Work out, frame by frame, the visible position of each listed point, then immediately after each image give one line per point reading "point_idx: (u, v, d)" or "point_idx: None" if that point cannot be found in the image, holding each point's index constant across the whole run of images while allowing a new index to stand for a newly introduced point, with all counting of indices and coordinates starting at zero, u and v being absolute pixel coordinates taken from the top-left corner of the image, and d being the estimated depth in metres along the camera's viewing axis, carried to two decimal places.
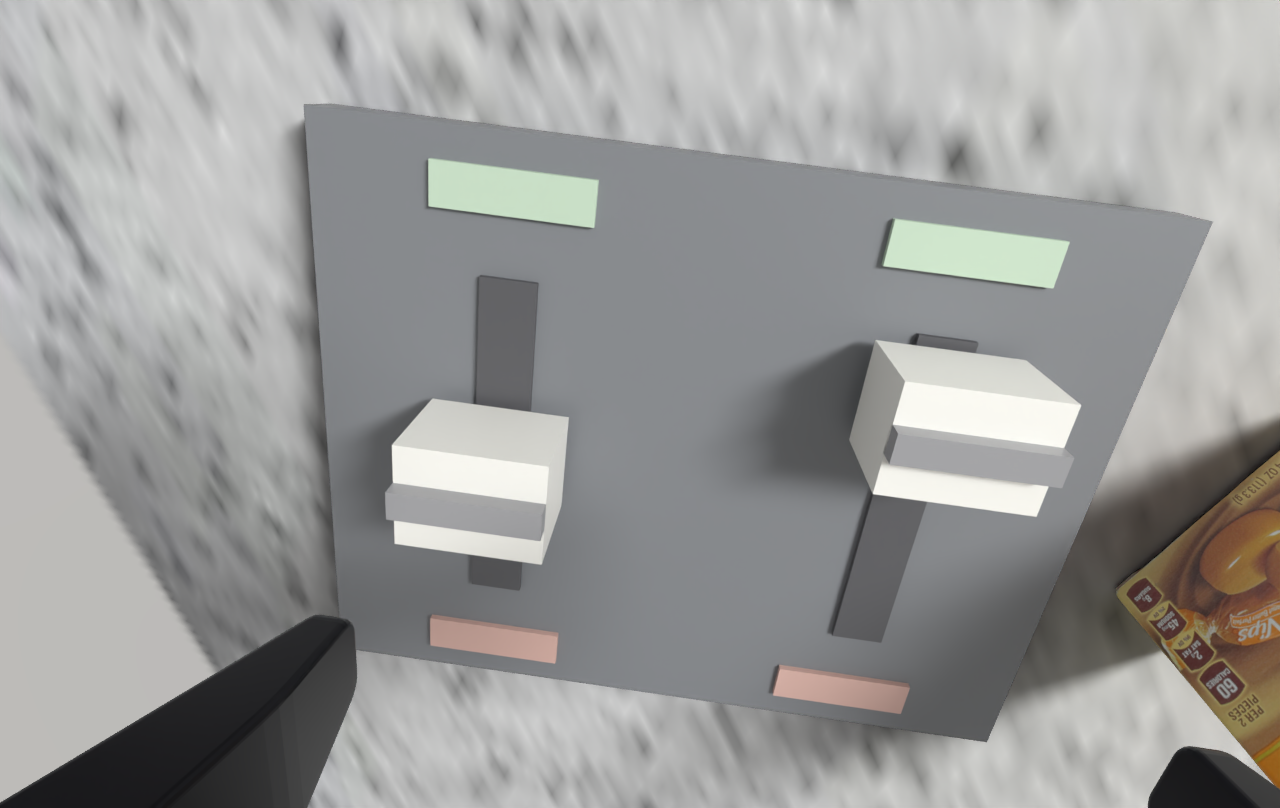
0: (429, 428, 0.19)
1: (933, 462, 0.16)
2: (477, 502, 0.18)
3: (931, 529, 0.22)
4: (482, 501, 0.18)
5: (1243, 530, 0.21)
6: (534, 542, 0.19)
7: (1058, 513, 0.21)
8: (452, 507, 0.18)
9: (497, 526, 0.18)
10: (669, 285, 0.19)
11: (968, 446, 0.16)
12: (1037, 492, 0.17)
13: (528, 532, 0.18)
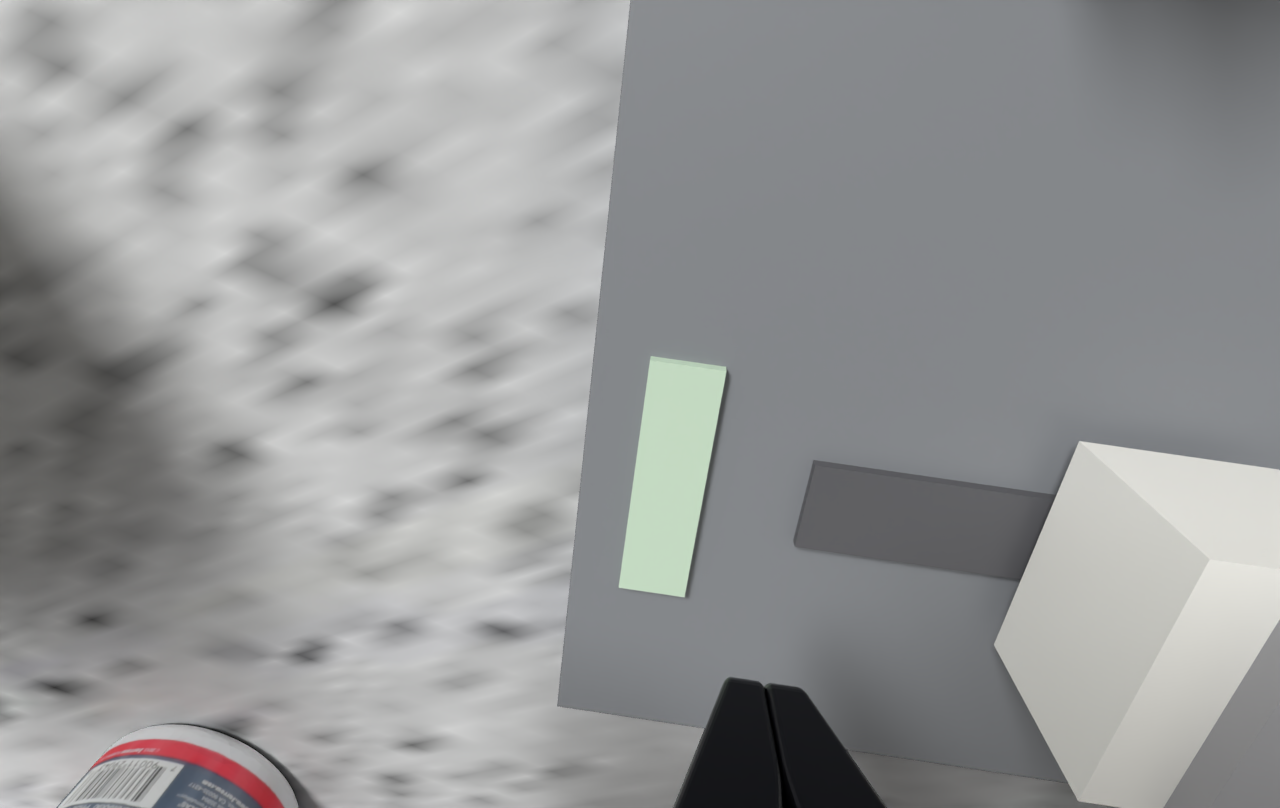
0: (1054, 704, 0.10)
1: None
2: (1259, 706, 0.08)
3: None
4: (1259, 695, 0.08)
5: None
6: None
7: None
8: (1258, 756, 0.08)
9: None
10: (839, 240, 0.10)
11: None
12: None
13: None
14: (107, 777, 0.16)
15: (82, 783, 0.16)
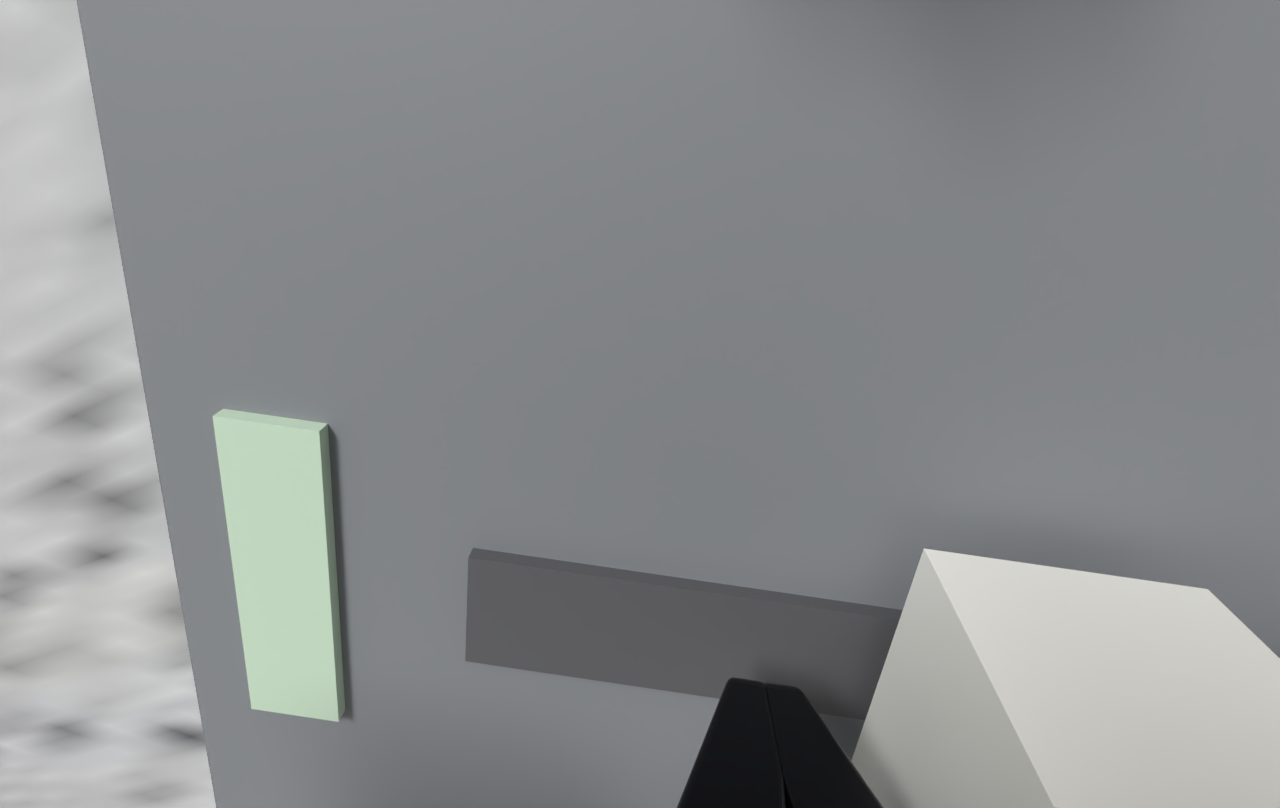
0: None
1: None
2: None
3: None
4: None
5: None
6: None
7: None
8: None
9: None
10: (442, 248, 0.07)
11: None
12: None
13: None
14: None
15: None
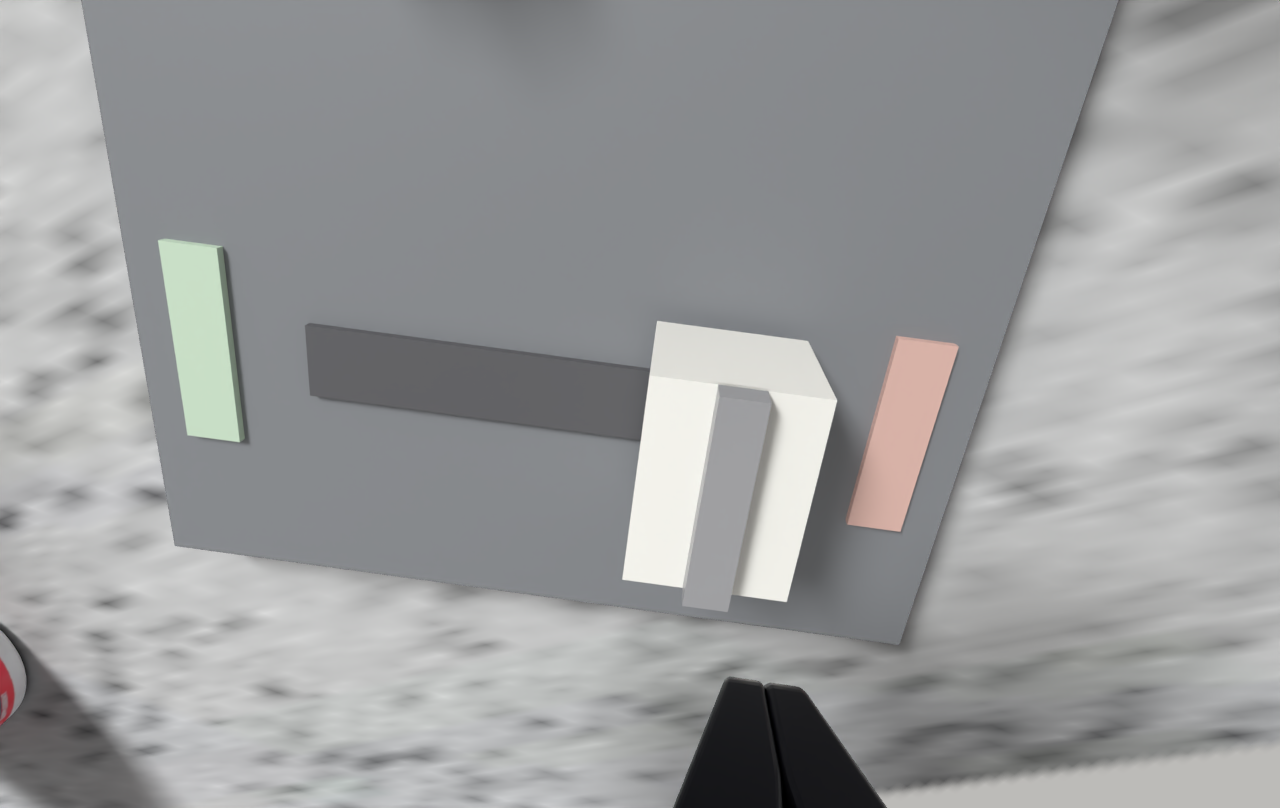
0: None
1: None
2: None
3: None
4: (704, 479, 0.12)
5: None
6: (791, 407, 0.11)
7: None
8: (706, 524, 0.12)
9: (741, 465, 0.11)
10: (276, 142, 0.14)
11: None
12: None
13: (754, 420, 0.11)
14: None
15: None
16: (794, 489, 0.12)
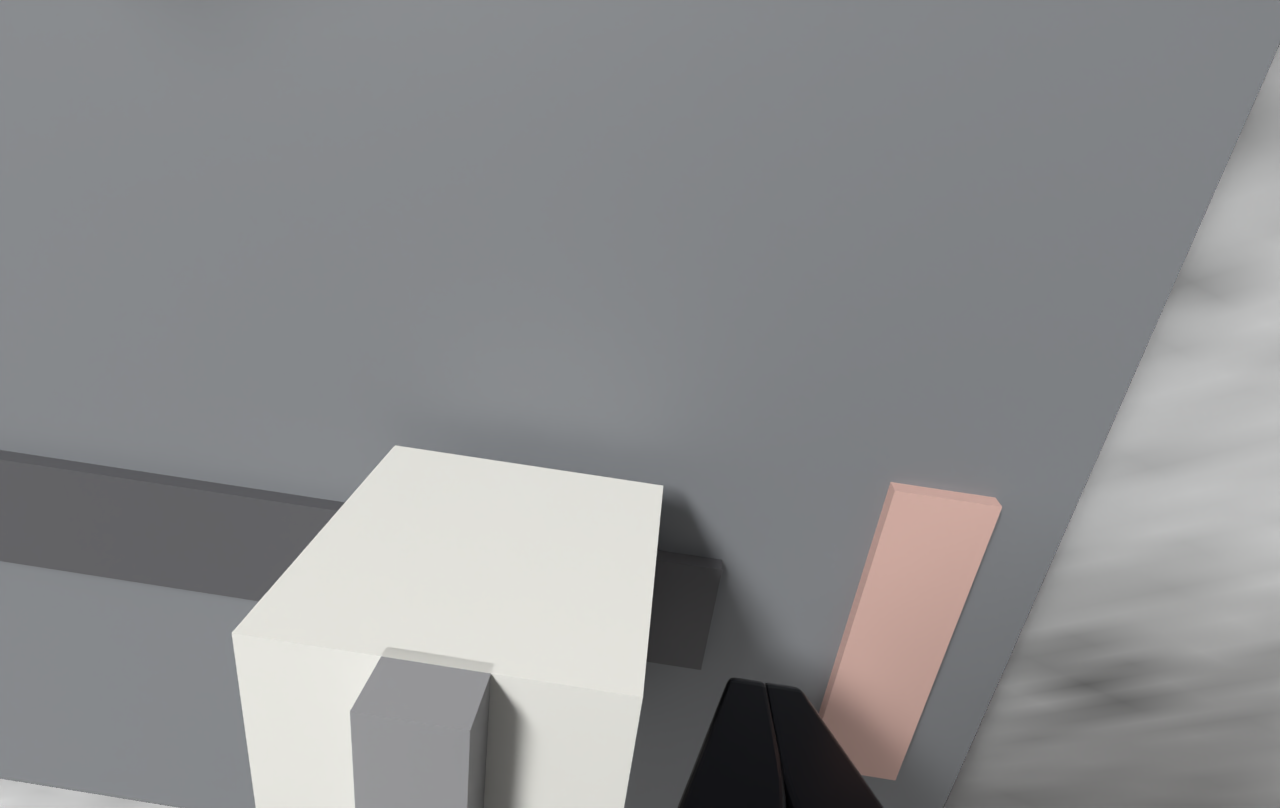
0: None
1: None
2: None
3: None
4: None
5: None
6: (547, 706, 0.05)
7: None
8: None
9: None
10: None
11: None
12: None
13: (437, 758, 0.05)
14: None
15: None
16: None
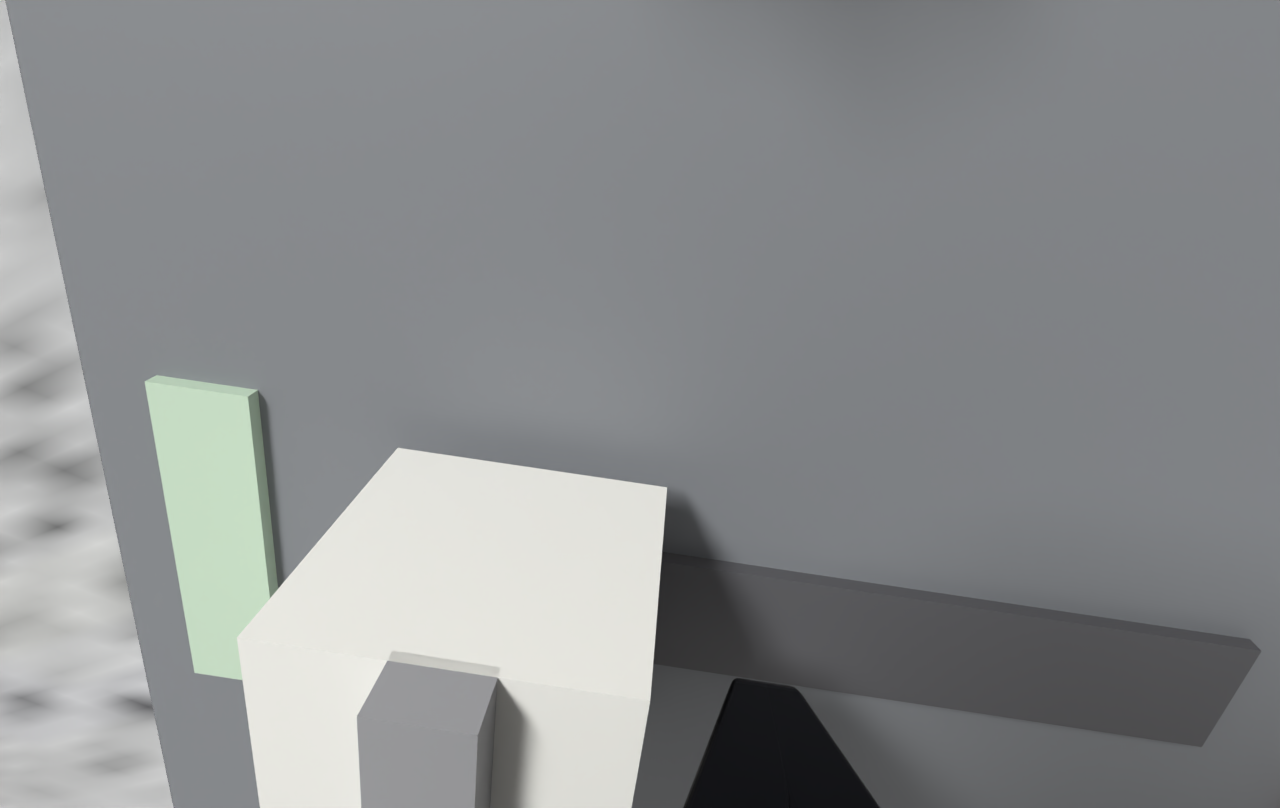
0: None
1: None
2: None
3: None
4: None
5: None
6: (554, 709, 0.05)
7: None
8: None
9: None
10: (361, 216, 0.07)
11: None
12: None
13: (445, 763, 0.05)
14: None
15: None
16: None
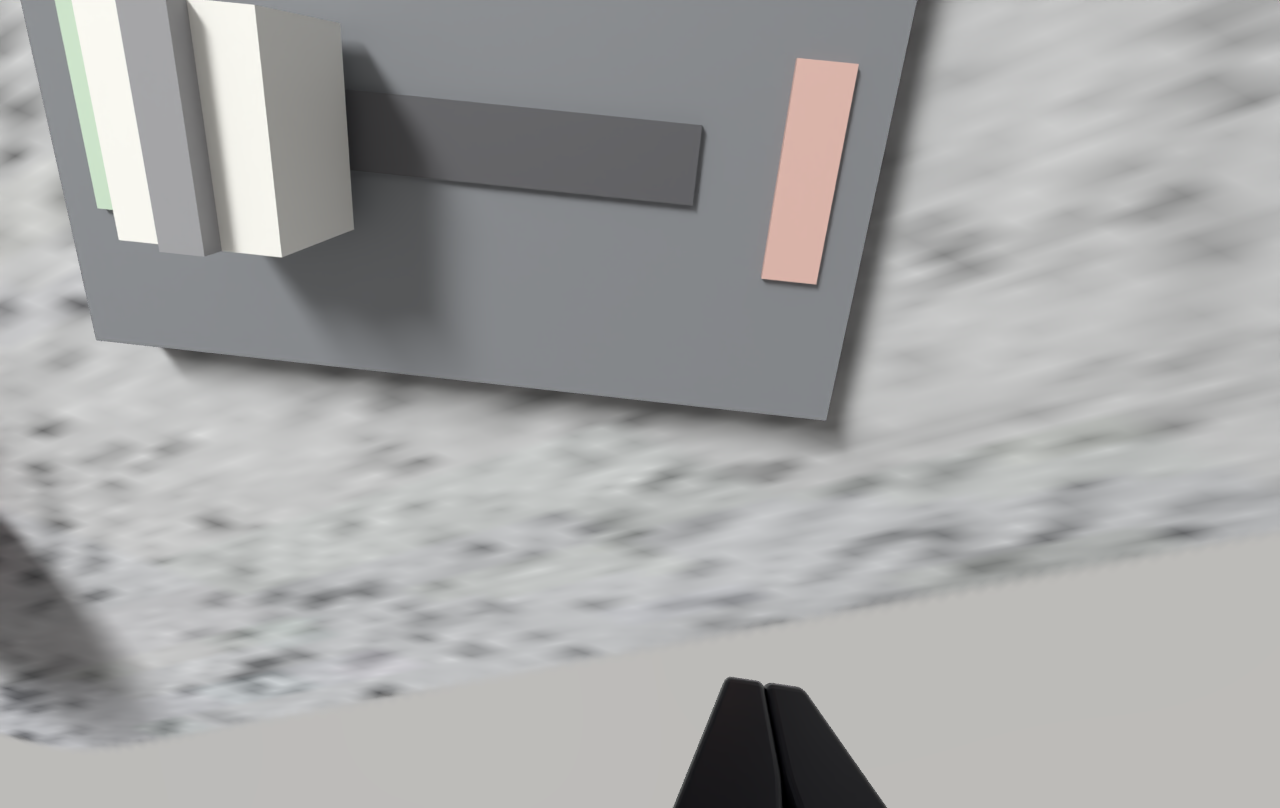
0: None
1: None
2: None
3: None
4: None
5: None
6: (214, 17, 0.11)
7: None
8: (150, 148, 0.12)
9: (161, 72, 0.11)
10: None
11: None
12: None
13: (154, 15, 0.11)
14: None
15: None
16: (247, 117, 0.12)
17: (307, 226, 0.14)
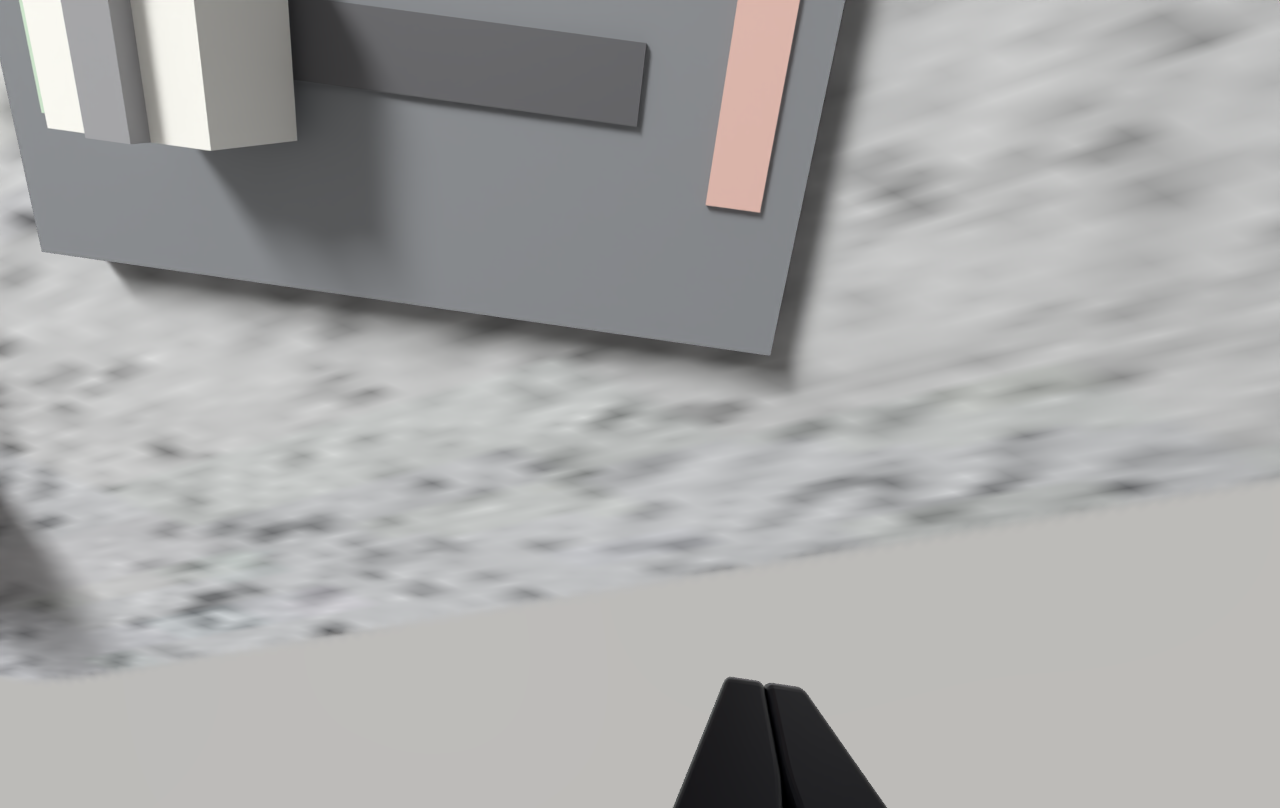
0: None
1: None
2: None
3: None
4: None
5: None
6: None
7: None
8: (74, 27, 0.12)
9: None
10: None
11: None
12: None
13: None
14: None
15: None
16: (174, 1, 0.12)
17: (241, 125, 0.14)
